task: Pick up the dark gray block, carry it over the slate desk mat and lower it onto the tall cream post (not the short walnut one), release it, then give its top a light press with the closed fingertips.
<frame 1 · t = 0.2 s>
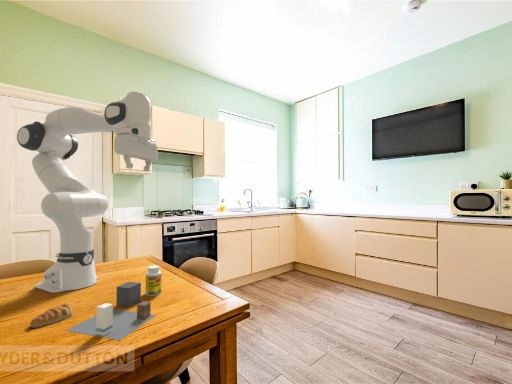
hand: (138, 169, 96), 47 cm above the table, fingers open, 8 cm apart
mat: (113, 323, 71), on the table
post: (104, 332, 66), resting on mat
pastry: (54, 321, 73), on the table
supplement bottle: (153, 294, 93), on the table
dark gray block: (128, 304, 84), on the table
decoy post: (143, 316, 74), resting on mat
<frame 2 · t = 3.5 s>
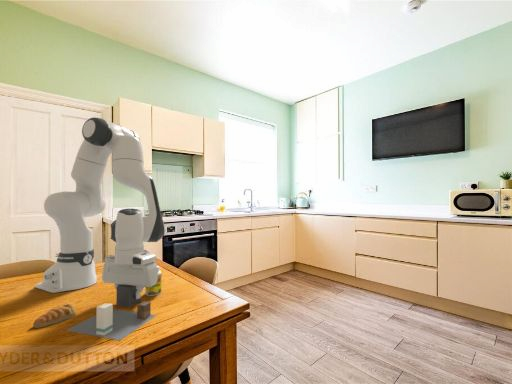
hand: (129, 297, 84), 2 cm above the table, fingers closed on dark gray block, 5 cm apart
dark gray block: (128, 304, 84), on the table, touching gripper
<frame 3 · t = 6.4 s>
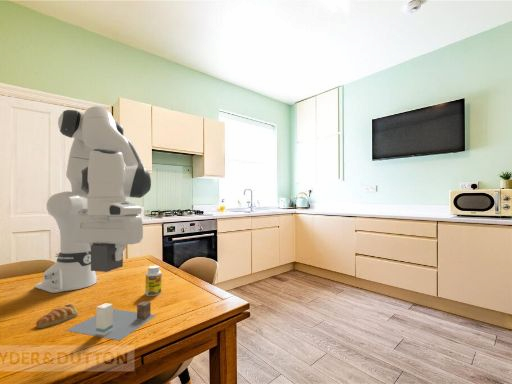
hand: (107, 259, 67), 19 cm above the table, fingers closed on dark gray block, 5 cm apart
dark gray block: (107, 268, 66), point 17 cm above the table, touching gripper
when the fingers open (4 cm above the table, at t = 9.2 s): dark gray block stays where it is, resting on post.
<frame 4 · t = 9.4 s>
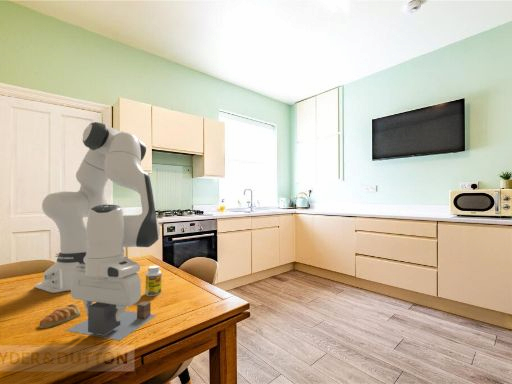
hand: (104, 318, 66), 4 cm above the table, fingers open, 7 cm apart
dark gray block: (104, 328, 66), point 1 cm above the table, touching post
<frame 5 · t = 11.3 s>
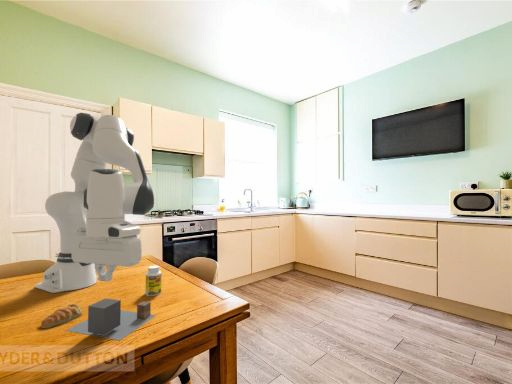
hand: (105, 280, 66), 14 cm above the table, fingers closed
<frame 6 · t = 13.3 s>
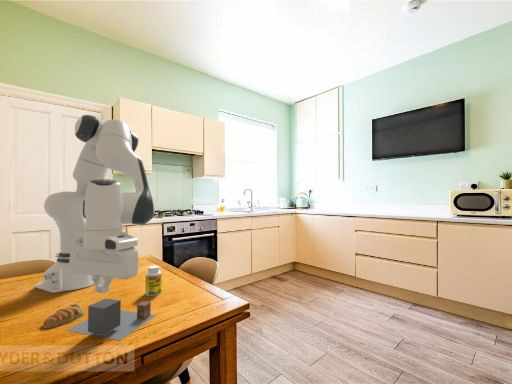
hand: (101, 291, 66), 11 cm above the table, fingers closed
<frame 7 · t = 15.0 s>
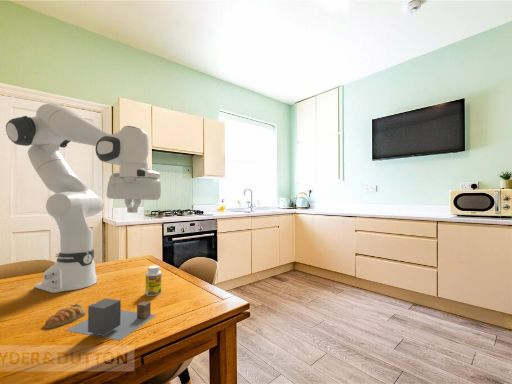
hand: (132, 212, 86), 31 cm above the table, fingers closed
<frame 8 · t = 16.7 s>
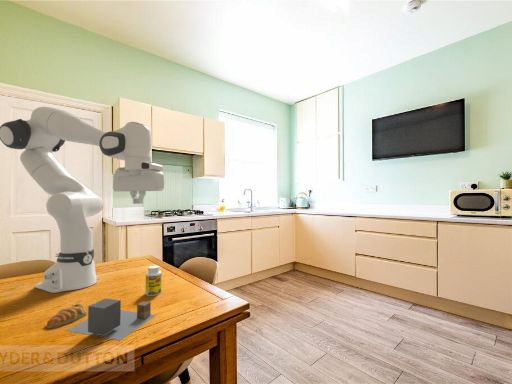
hand: (137, 203, 92), 34 cm above the table, fingers closed
at the end: dark gray block 0.1 cm from the post (horizontally); dark gray block point 1.4 cm above the table; the gripper is holding nothing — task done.
